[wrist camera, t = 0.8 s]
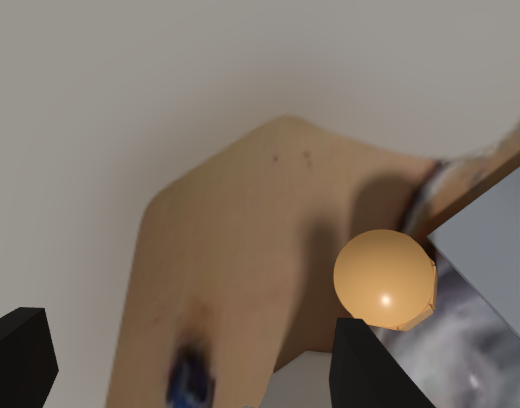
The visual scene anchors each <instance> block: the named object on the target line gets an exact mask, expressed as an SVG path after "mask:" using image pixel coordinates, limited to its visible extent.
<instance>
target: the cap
mask: <svg viewBox="0 0 520 408" xmlns="http://www.w3.org/2000/svg"><path fill="white" fill-rule="evenodd" d="M437 283H438V275H437V270H436V266H435V263H434V262H433V261H432V260H431V259H430V258H429V257H428V255H427V254H426V253H425V251H424V250H423V249H422V247H421V246H420V245H419V244H418V243H417V242H415V241H414V240H413V239H412V238H411V237H410V236H407V234H402V233H400V232H397V231H393V230H386V229H378V230H371V231H367V232H364V233H362V234H360V235H358V236H356V237H354V238H353V239H352V240H350V241H349V242H348V243H347V244H346V245H345V246H344V247H343V249H342V250H341V252H340V253H339V255H338V257H337V260H336V263H335V267H334V286H335V287H334V288H335V290H336V291H335V292H336V293H337V295H338V297H339V300H340V301H341V303H342V304H343V306H344V307H345V308H346V309H347V310H348V311H349V312H350V313H351V314H352V316H353V317H354V318H359V319H363V320H364V321H365V322H366V324H368V325H373V326H378V327H383V328H388V329H393V330H398V331H403V332H405V331H408V330H410V329H411V328H413V327H414V326H416V325H417V324H418V323H420V322H421V321H423V320H424V319H425V318H427V317H428V316H430V315H431V314H432V313H434V311H433V310H435V309H436V296H437Z"/></svg>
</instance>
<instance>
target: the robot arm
mask: <svg viewBox="0 0 520 408" xmlns="http://www.w3.org/2000/svg"><path fill="white" fill-rule="evenodd" d="M58 371H59V369H58V365H57V361H56V356H55V352H54V348H53V343H52V339H51V334H50V330H49V326H48V321H47V317H46V313H45V308H29V307H28V308H27V307H19V308H17V309H15V310H14V311H12V312H10V313H8V314H6V315H5V316H3V317H2V318H0V408H42V407H43V405H44V403H45V401H46V399H47V396H48V395H49V392H50V390H51V388H52V385H53V383H54V380H55V378H56V376H57V374H58ZM329 388H330V396H331V404H332V408H436V407H435V406H434V405H433V404H432V403H431V402H430V400H429V399H428V398H427V397H426V396H425V395H424V394H423V392H422V391H421V390H420V389H419V388H418V387H417V386H416V384H415V383H414V382H413V381H412V380H411V379H410V377H409V376H408V375H407V374H406V373H405V372H404V370H403V369H402V368H401V367H400V365H399V364H398V363H397V362H396V361H395V359H394V358H393V357H392V356H391V354H390V353H389V352H388V351H387V349H386V348H385V347H384V346H383V344H382V343H381V342H380V340H379V339H378V338H377V337H376V335H375V334H374V333H373V331H372V330H371V329H370V328H369V326H368V325H367V324H366V322H365V321H364V320H363V319H359V318H337V323H336V330H335V337H334V344H333V351H332V358H331V365H330V372H329Z"/></svg>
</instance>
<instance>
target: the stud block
mask: <svg viewBox="0 0 520 408" xmlns="http://www.w3.org/2000/svg"><path fill="white" fill-rule="evenodd" d="M427 239H428V241H429V242H430V243H431V244H432V245H433V246H434V247H435V248H436V249H437V250H438V251H439V253H440V254H441V255H442V256H443V257H444V258H445V259H446V260H447V261H448V262H449V263H450V264H451V265H452V266H453V268H454V269H455V270H456V271H457V272H458V273H459V274H460V275H461V276H462V277H463V278H464V279H465V280H466V282H467V283H468V284H469V285H470V286H471V287H472V288H473V289H474V290H475V291H476V292H477V293H478V294H479V295H480V297H481V298H482V299H483V300H484V301H485V302H486V303H487V304H488V305H489V306H490V307H491V308H492V309H493V310H494V312H495V313H496V314H497V315H498V316H499V317H500V318H501V319H502V320H503V321H504V322H505V323H506V324H507V325H508V327H509V328H510V329H511V330H512V331H513V332H514V333H515V334H516V335H517V336H518V337H519V338H520V167H519V168H517V169H516V170H515V171H513V172H512V173H511V174H509V175H508V176H507V177H505V178H504V179H503V180H501V181H500V182H499V183H497V184H496V185H495V186H493V187H492V188H491V189H489V190H488V191H487V192H485V193H484V194H483V195H481V196H480V197H479V198H477V199H476V200H475V201H473V202H472V203H471V204H469V205H468V206H467V207H465V208H464V209H462V210H461V211H460V212H458V213H457V214H456V215H454V216H453V217H452V218H450V219H449V220H448V221H446V222H445V223H444V224H442V225H441V226H440V227H438V228H437V229H436V230H434V231H433V232H432V233H430V234H429V235H428V236H427Z"/></svg>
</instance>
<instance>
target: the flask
mask: <svg viewBox="0 0 520 408" xmlns="http://www.w3.org/2000/svg"><path fill="white" fill-rule="evenodd" d="M331 358H332V353H325V352H316V351H305V352H303V353H302V354H301V355H299V356H298V357H296V358H295V359H294V360H292V361H291V362H289V363H288V364H286V365H285V366H284V367H282V368H281V369H279V370H278V371H277V372H275V373H274V374H272V375H271V378H270V381H269V384H268V387H267V390H266V393H265V396H264V398H263V400H262V403H261V405H260V407H259V408H332V404H331V396H330V388H329V372H330V365H331ZM243 408H254V407H249V406H245V407H243Z"/></svg>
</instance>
